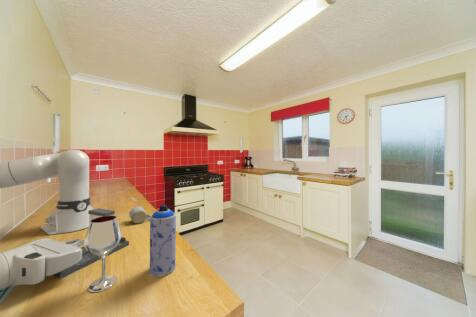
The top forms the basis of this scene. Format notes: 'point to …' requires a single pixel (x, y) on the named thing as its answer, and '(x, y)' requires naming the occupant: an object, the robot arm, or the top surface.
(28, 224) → the top surface
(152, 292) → the top surface
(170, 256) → the aerosol can
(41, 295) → the top surface
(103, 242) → the wineglass
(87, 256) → the fader track
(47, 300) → the top surface
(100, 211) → the fader knob
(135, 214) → the light bulb
